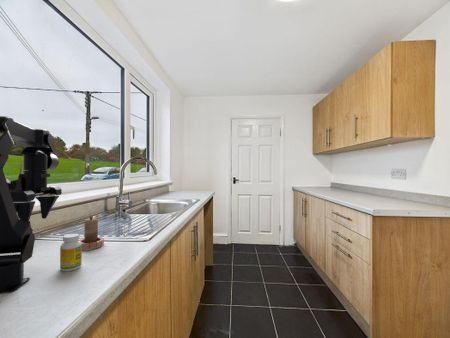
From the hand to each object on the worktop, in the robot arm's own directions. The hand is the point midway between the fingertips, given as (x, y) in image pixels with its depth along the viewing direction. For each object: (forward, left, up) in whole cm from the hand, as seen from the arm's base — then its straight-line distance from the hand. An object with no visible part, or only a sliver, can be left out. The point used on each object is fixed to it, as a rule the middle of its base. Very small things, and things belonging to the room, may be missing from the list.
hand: (35, 221), depth 73 cm
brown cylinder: (+16, -10, -12) cm, 23 cm away
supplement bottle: (-4, -12, -13) cm, 18 cm away
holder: (+16, -10, -13) cm, 23 cm away
